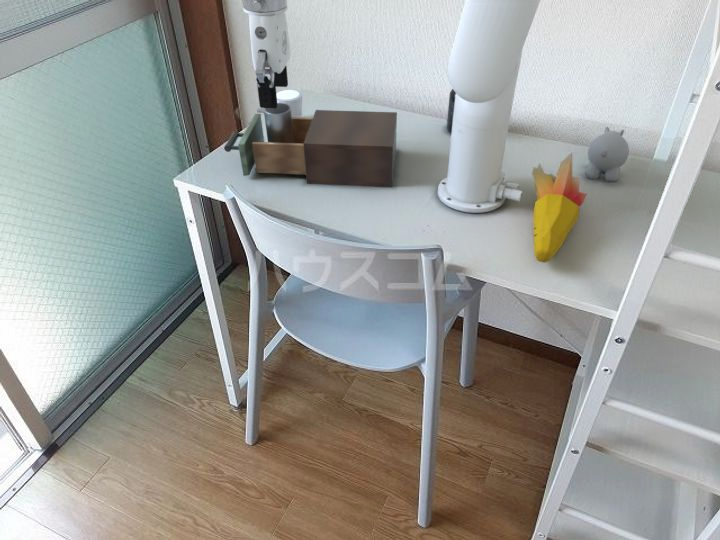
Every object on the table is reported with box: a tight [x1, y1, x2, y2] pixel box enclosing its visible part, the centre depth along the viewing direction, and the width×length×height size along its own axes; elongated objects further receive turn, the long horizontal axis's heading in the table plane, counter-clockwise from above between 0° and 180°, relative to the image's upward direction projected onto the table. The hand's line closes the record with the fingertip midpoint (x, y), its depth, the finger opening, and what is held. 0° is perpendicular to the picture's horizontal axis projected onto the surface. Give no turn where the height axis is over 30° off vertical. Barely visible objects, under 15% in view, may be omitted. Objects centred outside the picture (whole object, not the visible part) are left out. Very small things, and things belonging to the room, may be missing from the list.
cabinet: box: [303, 109, 398, 188], centre depth 114 cm, size 17×15×9 cm
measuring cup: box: [256, 103, 294, 143], centre depth 114 cm, size 6×5×10 cm
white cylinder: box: [276, 88, 303, 117], centre depth 130 cm, size 7×7×7 cm
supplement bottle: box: [446, 88, 456, 134], centre depth 125 cm, size 7×7×12 cm
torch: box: [531, 151, 588, 263], centre depth 97 cm, size 8×8×25 cm
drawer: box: [223, 113, 313, 176], centre depth 116 cm, size 20×13×7 cm
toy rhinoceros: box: [584, 126, 630, 183], centre depth 112 cm, size 7×12×8 cm, turn 153°
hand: (274, 96), depth 109 cm, fingers open, 9 cm apart
